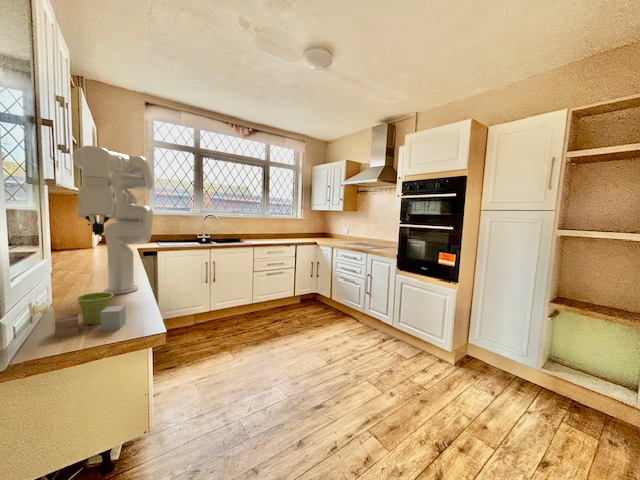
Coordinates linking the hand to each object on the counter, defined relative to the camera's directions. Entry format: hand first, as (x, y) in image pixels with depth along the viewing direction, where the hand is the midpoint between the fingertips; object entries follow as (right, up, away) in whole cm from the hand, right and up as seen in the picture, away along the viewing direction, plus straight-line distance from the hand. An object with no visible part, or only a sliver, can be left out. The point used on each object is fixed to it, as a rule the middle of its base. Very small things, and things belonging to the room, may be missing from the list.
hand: (98, 234), depth 95 cm
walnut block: (+3, -30, -15) cm, 34 cm away
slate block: (+13, -30, -9) cm, 34 cm away
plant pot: (+4, -30, -6) cm, 30 cm away
